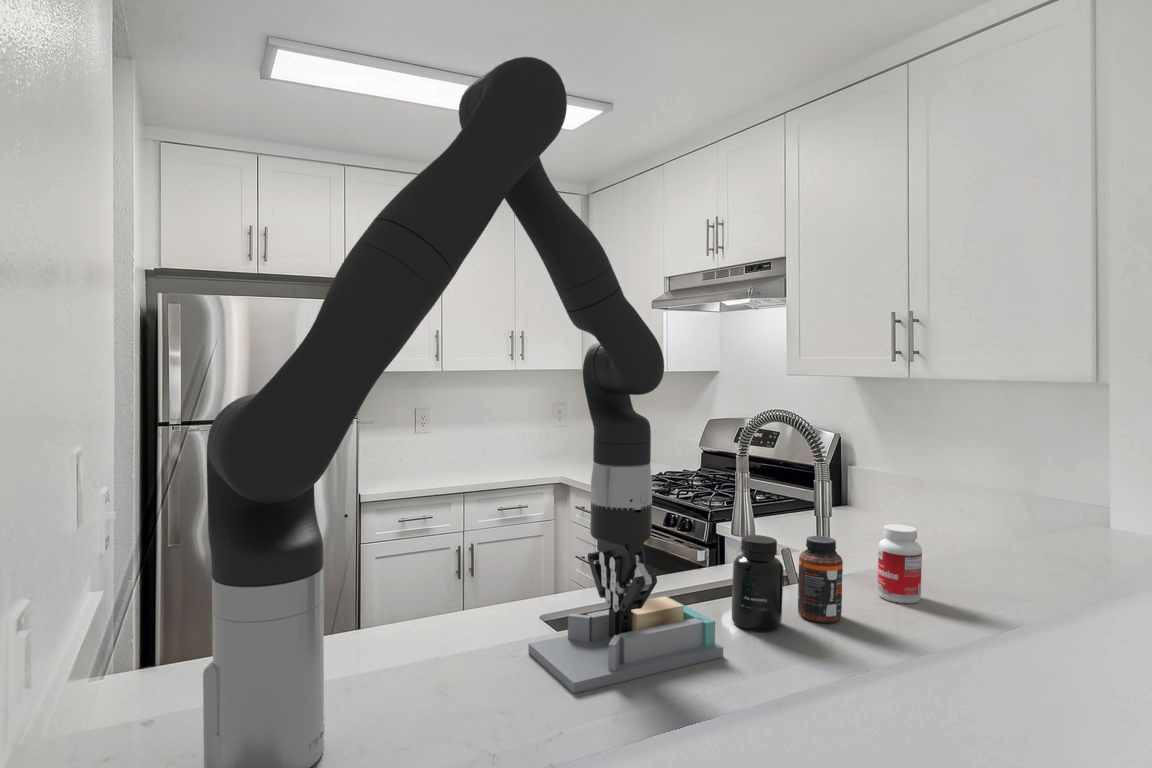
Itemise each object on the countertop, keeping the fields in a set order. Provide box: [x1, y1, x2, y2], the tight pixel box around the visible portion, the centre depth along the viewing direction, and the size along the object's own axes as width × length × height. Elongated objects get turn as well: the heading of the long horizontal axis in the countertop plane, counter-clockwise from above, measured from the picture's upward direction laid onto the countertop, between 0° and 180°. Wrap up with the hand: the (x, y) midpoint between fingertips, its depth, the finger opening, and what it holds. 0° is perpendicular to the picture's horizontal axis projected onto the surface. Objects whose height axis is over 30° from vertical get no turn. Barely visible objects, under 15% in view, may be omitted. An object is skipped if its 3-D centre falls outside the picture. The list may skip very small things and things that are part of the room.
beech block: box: [630, 596, 684, 632], centre depth 89 cm, size 7×4×4 cm, turn 118°
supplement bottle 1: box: [731, 534, 784, 633], centre depth 98 cm, size 7×7×12 cm
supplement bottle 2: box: [797, 535, 844, 624], centre depth 101 cm, size 6×6×11 cm
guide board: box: [528, 596, 724, 694], centre depth 87 cm, size 21×12×4 cm, turn 118°
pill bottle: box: [876, 523, 923, 604], centre depth 109 cm, size 6×6×11 cm
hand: (619, 638), depth 87 cm, fingers closed
